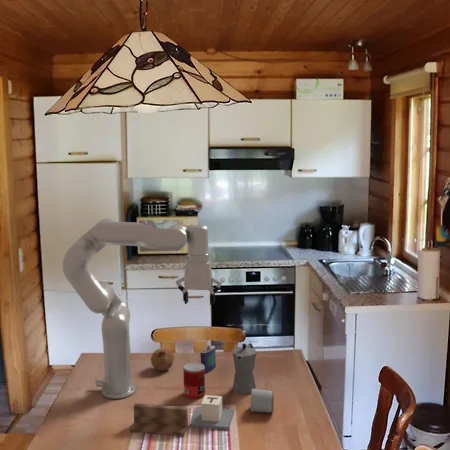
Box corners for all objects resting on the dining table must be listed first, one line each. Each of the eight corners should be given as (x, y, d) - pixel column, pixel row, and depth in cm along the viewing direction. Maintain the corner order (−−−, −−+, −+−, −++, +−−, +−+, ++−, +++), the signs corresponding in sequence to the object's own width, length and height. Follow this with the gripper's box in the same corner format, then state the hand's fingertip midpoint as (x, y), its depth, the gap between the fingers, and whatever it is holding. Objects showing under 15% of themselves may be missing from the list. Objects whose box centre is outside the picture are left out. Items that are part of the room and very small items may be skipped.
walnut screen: (130, 431, 178) (129, 411, 177) (135, 423, 183) (135, 403, 182) (184, 436, 175) (183, 415, 174) (188, 427, 180) (187, 407, 179)
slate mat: (189, 426, 181) (189, 424, 180) (197, 409, 192) (197, 406, 192) (228, 430, 178) (228, 427, 178) (233, 411, 190) (233, 409, 190)
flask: (212, 365, 229) (211, 340, 228) (218, 366, 228) (217, 342, 226) (199, 373, 222) (199, 348, 220) (205, 374, 220) (205, 349, 218)
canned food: (202, 400, 199) (202, 371, 197) (181, 398, 201) (180, 369, 199) (207, 390, 206) (206, 362, 205) (187, 388, 208) (186, 361, 206)
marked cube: (201, 420, 183) (201, 403, 182) (205, 411, 189) (204, 394, 188) (219, 421, 182) (218, 404, 181) (222, 412, 188) (222, 396, 187)
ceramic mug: (274, 416, 187) (274, 395, 186) (250, 415, 188) (250, 394, 186) (274, 402, 197) (274, 382, 196) (251, 401, 198) (251, 381, 197)
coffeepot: (250, 398, 200) (250, 351, 197) (226, 394, 203) (226, 348, 200) (263, 381, 214) (263, 337, 211) (240, 377, 217) (240, 334, 214)
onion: (164, 379, 223) (162, 363, 217) (147, 369, 227) (145, 353, 221) (179, 364, 229) (178, 348, 223) (161, 354, 234) (160, 338, 228)
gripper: (172, 260, 199) (173, 305, 202) (219, 261, 196) (220, 307, 199) (177, 255, 206) (179, 299, 209) (223, 257, 203) (223, 301, 206)
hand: (199, 303), depth 204 cm, fingers open, 9 cm apart
